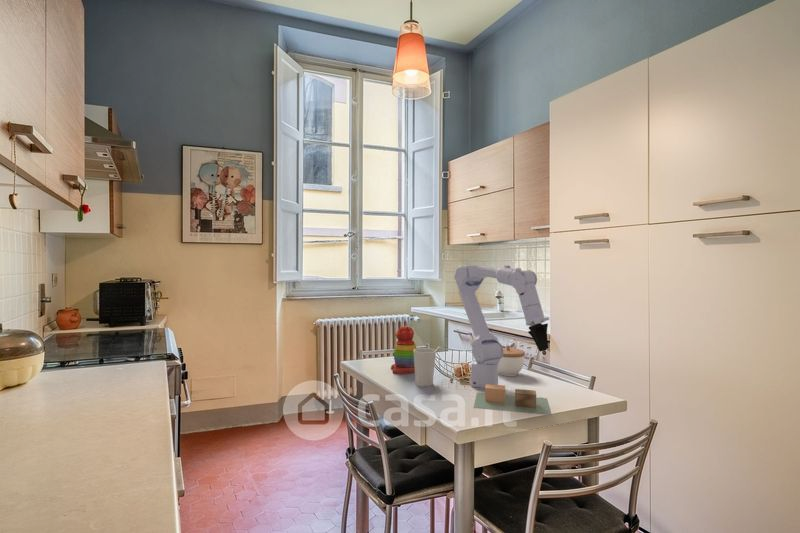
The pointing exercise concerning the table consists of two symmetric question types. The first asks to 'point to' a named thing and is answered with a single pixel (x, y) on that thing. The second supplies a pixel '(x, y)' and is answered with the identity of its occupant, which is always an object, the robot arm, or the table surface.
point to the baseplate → (512, 405)
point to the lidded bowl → (511, 362)
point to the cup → (424, 366)
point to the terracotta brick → (495, 393)
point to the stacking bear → (404, 351)
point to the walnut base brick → (525, 398)
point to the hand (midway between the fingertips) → (543, 349)
